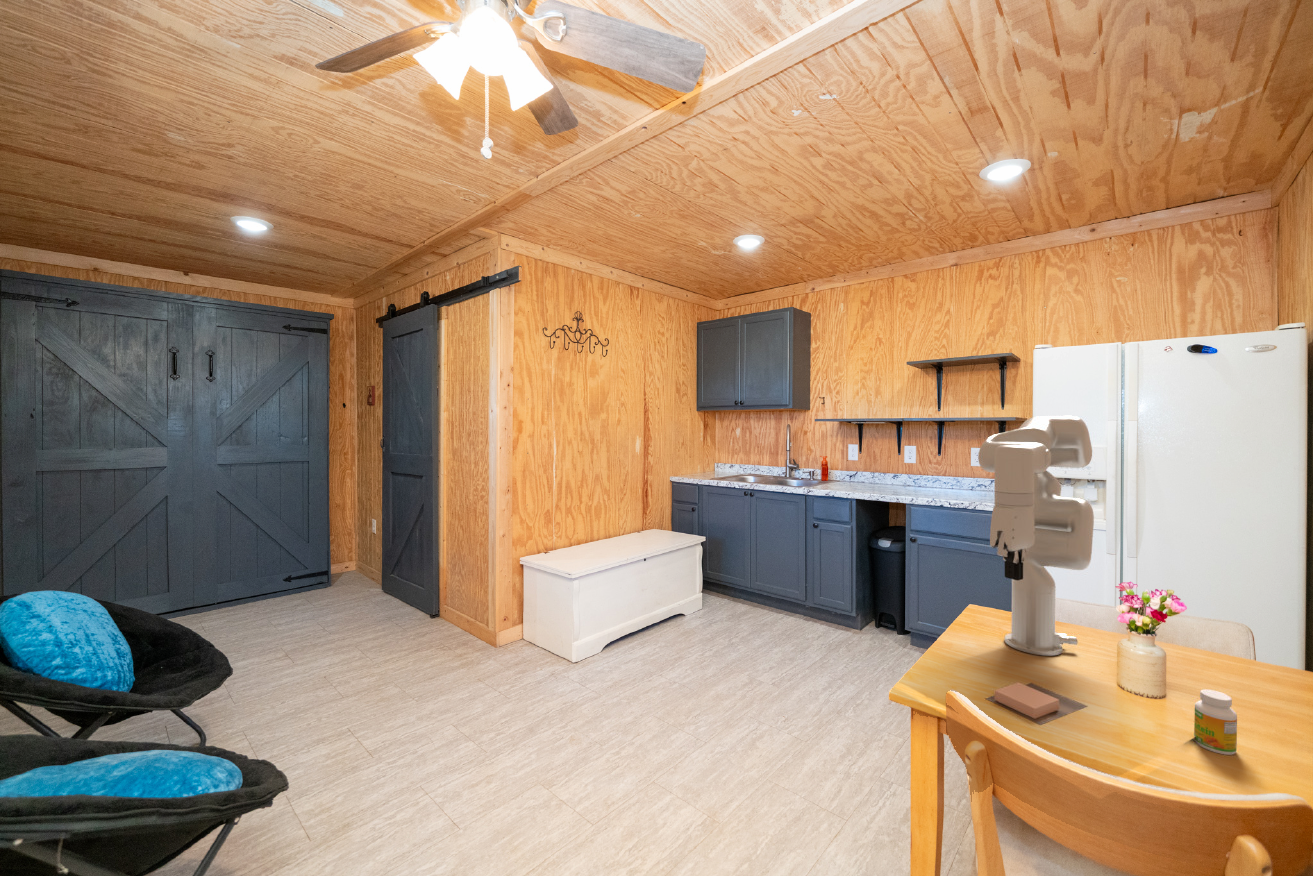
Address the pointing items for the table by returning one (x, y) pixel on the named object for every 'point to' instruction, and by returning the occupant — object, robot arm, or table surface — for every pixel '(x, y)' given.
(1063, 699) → the board
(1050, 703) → the tile
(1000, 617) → the table surface
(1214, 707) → the supplement bottle
